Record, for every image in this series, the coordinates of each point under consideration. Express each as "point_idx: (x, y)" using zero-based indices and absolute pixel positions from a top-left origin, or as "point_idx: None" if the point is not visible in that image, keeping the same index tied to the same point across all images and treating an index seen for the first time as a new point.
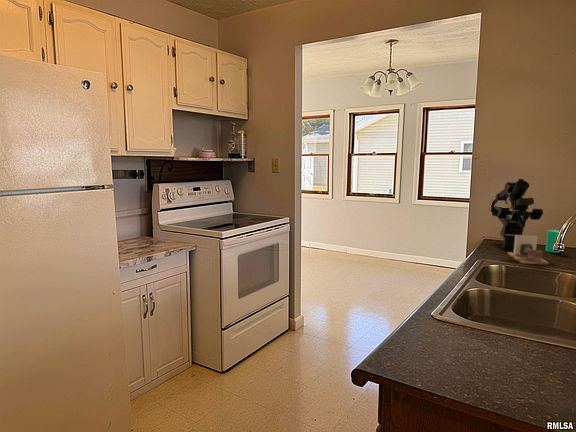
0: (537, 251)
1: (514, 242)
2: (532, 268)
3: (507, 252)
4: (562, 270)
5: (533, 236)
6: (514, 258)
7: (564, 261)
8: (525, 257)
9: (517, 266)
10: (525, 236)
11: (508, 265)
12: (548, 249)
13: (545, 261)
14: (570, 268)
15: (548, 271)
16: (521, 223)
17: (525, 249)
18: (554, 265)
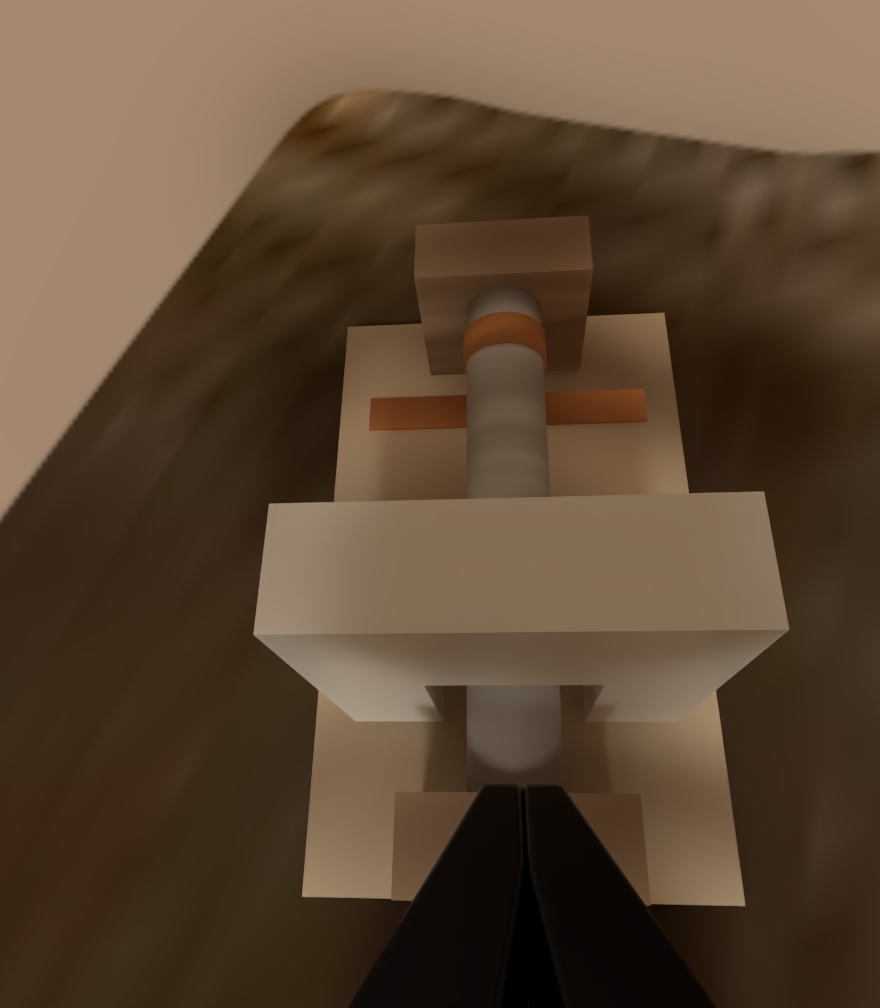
0: (482, 226)
1: (727, 680)
2: (602, 162)
3: (741, 904)
4: (328, 174)
5: (359, 502)
6: None
7: (40, 571)
8: None
9: (740, 189)
10: (549, 503)
11: (833, 200)
12: None
13: (365, 366)
14: (197, 263)
15: (485, 111)
16: (625, 888)
17: None
18: (300, 335)
